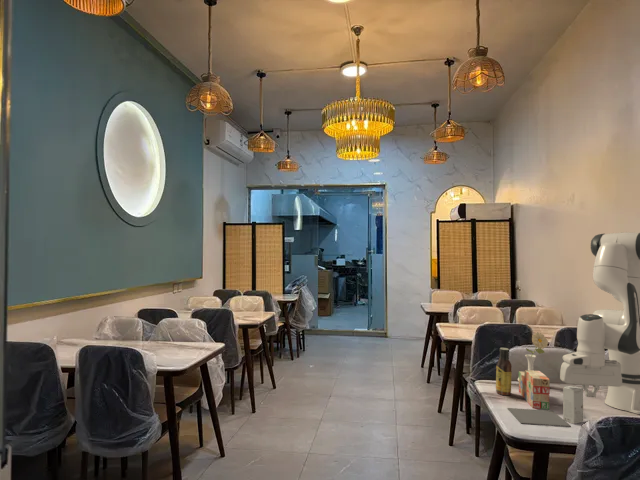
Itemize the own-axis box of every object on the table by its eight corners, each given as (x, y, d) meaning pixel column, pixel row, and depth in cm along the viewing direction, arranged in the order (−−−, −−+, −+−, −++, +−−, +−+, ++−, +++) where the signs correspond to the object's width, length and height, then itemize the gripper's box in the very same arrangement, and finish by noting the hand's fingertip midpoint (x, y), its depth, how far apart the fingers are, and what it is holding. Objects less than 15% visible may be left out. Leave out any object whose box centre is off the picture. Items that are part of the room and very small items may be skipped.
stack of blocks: (518, 392, 189) (518, 364, 190) (533, 393, 188) (533, 365, 188) (532, 408, 168) (532, 377, 169) (549, 410, 167) (549, 378, 167)
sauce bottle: (494, 390, 189) (494, 346, 190) (509, 392, 188) (509, 347, 189) (497, 395, 183) (498, 349, 184) (513, 396, 182) (513, 350, 183)
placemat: (552, 411, 165) (552, 410, 165) (571, 427, 150) (571, 425, 150) (507, 408, 167) (507, 407, 167) (521, 423, 152) (521, 422, 152)
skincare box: (574, 424, 152) (574, 390, 153) (562, 420, 156) (562, 387, 157) (584, 421, 155) (584, 388, 156) (571, 417, 159) (571, 385, 160)
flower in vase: (520, 387, 196) (520, 333, 197) (514, 380, 207) (515, 329, 208) (551, 390, 193) (551, 335, 194) (543, 382, 204) (544, 330, 205)
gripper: (615, 358, 158) (615, 395, 157) (558, 355, 160) (558, 392, 160) (626, 362, 152) (626, 401, 151) (565, 359, 154) (565, 397, 154)
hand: (590, 396), depth 156 cm, fingers closed
